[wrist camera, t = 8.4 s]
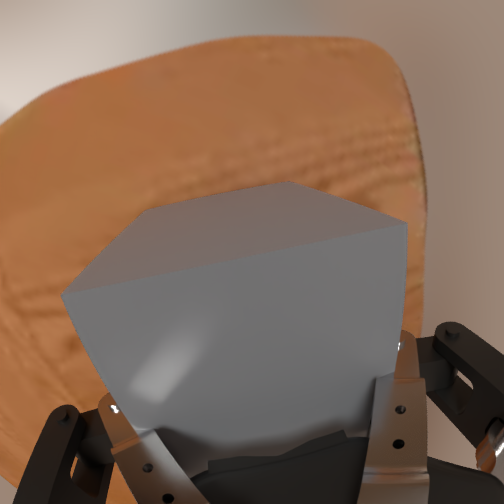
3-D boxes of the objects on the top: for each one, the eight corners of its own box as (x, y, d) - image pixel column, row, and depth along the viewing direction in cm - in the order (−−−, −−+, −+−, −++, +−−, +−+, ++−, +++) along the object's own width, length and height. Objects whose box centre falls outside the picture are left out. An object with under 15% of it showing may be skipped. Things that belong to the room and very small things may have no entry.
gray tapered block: (308, 354, 17) (368, 471, 9) (197, 378, 16) (203, 510, 8) (289, 181, 13) (407, 222, 5) (145, 210, 13) (60, 294, 5)
